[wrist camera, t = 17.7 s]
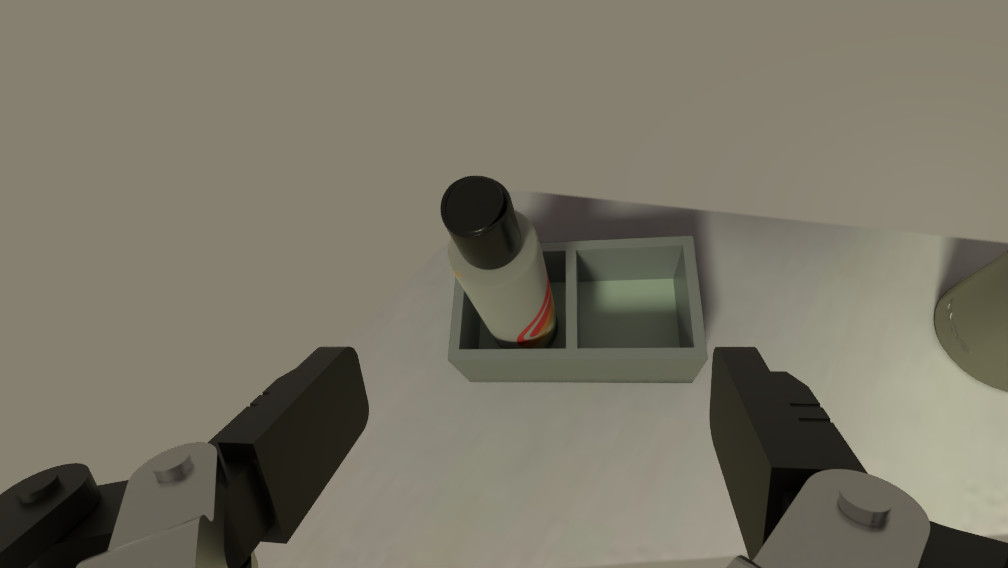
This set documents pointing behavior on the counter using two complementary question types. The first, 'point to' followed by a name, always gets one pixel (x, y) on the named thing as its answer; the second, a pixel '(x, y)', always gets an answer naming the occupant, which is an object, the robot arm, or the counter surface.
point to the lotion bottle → (499, 263)
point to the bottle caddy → (600, 318)
